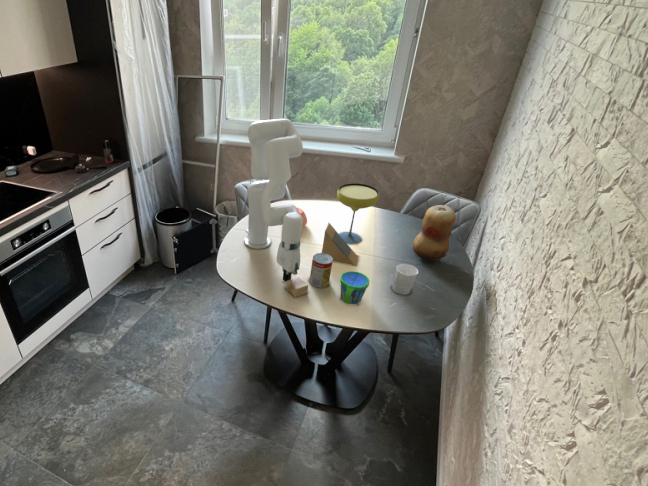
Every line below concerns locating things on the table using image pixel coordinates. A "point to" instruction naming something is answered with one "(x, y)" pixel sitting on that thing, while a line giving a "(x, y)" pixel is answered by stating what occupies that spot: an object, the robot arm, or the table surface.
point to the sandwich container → (338, 247)
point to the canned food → (321, 270)
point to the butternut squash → (435, 233)
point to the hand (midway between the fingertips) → (286, 279)
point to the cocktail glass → (356, 204)
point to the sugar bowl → (302, 216)
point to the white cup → (404, 278)
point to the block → (297, 287)
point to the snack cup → (353, 286)
